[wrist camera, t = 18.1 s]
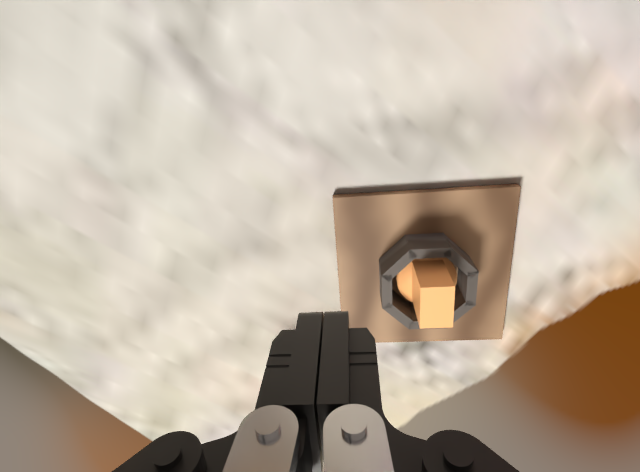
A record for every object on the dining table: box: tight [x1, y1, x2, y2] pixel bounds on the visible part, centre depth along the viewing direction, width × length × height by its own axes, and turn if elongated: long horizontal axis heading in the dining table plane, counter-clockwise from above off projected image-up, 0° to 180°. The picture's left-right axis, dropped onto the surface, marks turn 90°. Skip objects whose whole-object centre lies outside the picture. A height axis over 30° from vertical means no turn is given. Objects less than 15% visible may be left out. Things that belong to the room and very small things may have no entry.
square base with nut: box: [333, 184, 521, 343], centre depth 42 cm, size 18×18×4 cm
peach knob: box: [396, 258, 457, 329], centre depth 39 cm, size 6×6×7 cm
